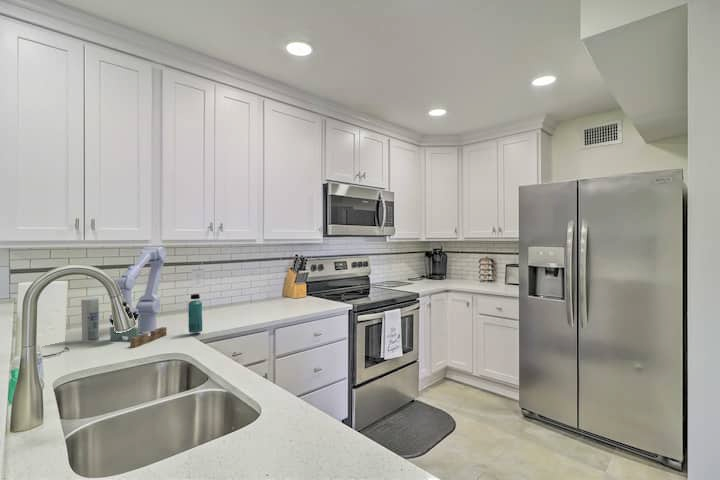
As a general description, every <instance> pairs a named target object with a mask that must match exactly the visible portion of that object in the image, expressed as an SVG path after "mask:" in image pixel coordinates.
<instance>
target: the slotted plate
mask: <svg viewBox="0 0 720 480" xmlns="http://www.w3.org/2000/svg"><path fill="white" fill-rule="evenodd" d="M109 331H110V332H109V335H110V337H109V338H110V341H117V342H118V341H121V339H122V340H123V338H124V337H125V338H127V342H130V338H133V337H136V336H138V335H141V333H140V327H138V326H134V327H133V328H132V329H131V330H129V331H126V332H122V333H120V334H116V333H115V331H114V327H113V326H111V327H109Z"/></svg>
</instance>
